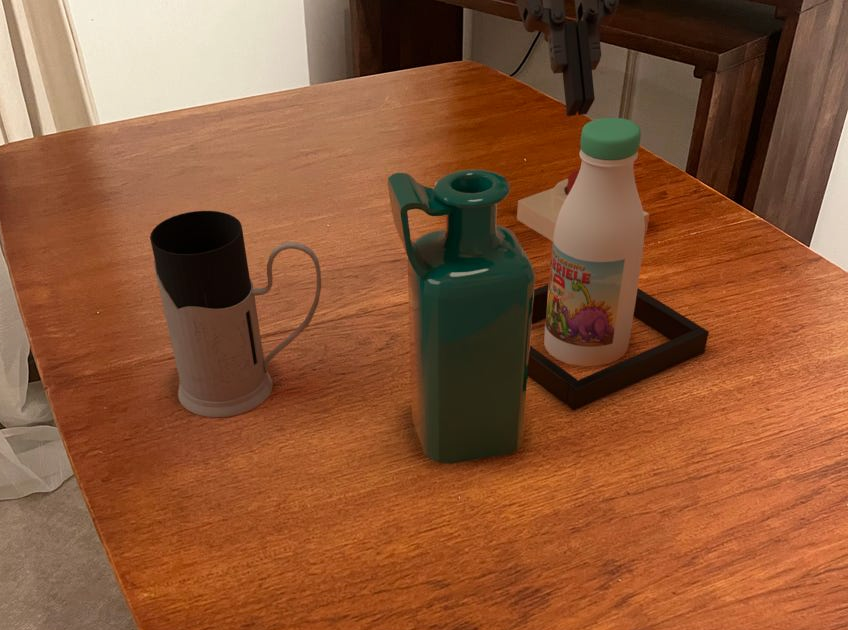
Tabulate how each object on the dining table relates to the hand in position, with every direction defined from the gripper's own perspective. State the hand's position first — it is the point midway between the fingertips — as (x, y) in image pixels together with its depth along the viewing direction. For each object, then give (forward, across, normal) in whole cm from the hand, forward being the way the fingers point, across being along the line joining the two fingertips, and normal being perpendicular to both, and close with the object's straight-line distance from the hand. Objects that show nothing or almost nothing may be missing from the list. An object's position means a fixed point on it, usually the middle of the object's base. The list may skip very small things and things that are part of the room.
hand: (580, 107), depth 87 cm
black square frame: (+19, 0, +6) cm, 20 cm away
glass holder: (+19, -31, +6) cm, 37 cm away
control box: (+3, +6, +23) cm, 24 cm away
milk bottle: (+19, 0, +7) cm, 20 cm away
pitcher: (+27, -14, -1) cm, 30 cm away
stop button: (0, +6, +21) cm, 21 cm away
